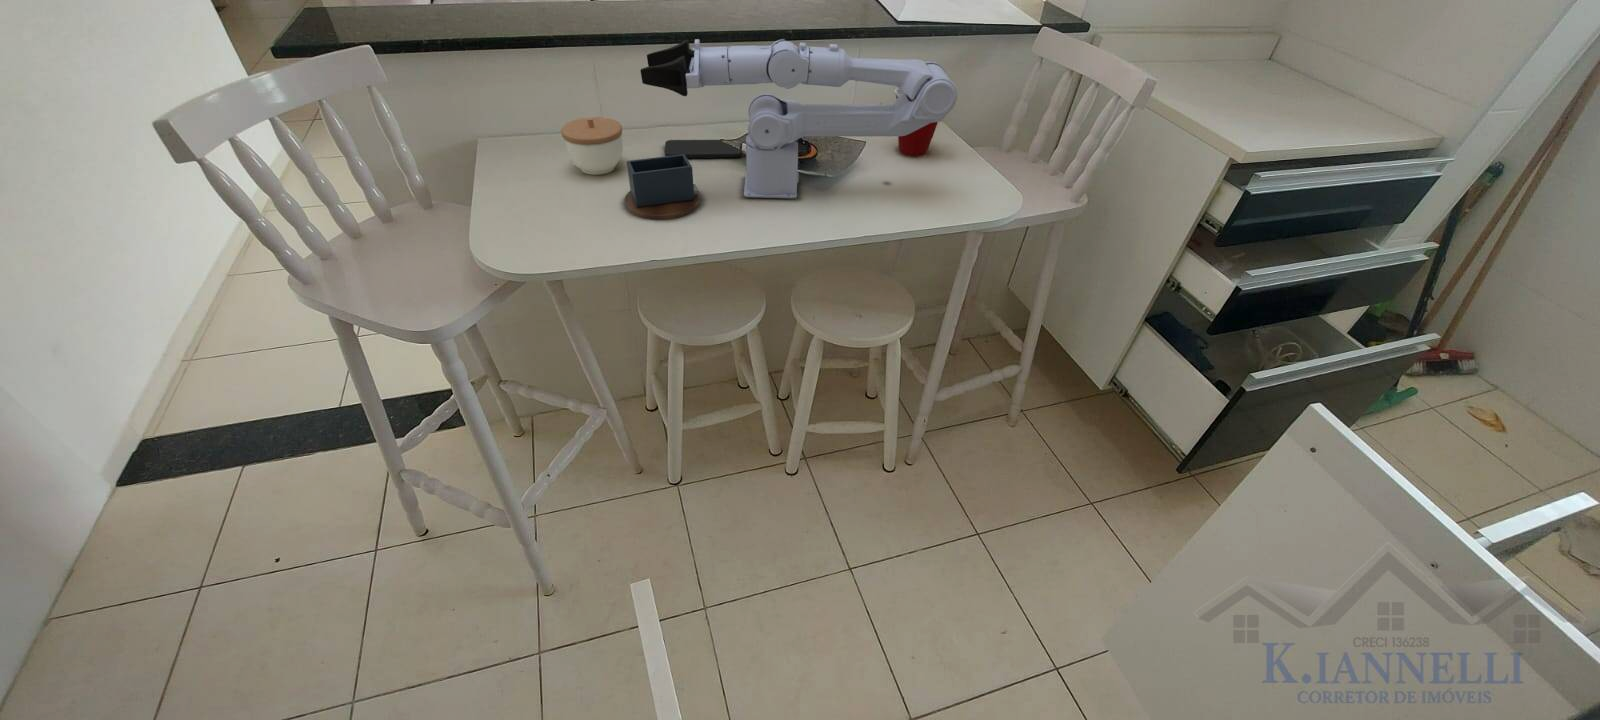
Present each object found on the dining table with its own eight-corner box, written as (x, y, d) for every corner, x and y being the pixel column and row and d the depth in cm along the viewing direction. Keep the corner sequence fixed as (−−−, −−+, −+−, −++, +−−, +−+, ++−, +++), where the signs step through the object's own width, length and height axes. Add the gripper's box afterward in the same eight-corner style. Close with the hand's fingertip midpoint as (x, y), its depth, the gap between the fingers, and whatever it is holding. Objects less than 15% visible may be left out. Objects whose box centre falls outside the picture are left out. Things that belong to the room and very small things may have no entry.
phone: (741, 154, 131) (664, 154, 129) (741, 158, 131) (664, 158, 129) (739, 139, 136) (665, 139, 134) (739, 143, 137) (665, 143, 135)
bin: (693, 185, 119) (691, 153, 115) (701, 198, 116) (699, 165, 112) (631, 193, 116) (626, 160, 112) (636, 207, 112) (632, 174, 108)
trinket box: (613, 183, 121) (605, 133, 115) (558, 176, 122) (547, 126, 116) (636, 159, 129) (629, 111, 123) (584, 153, 130) (575, 105, 124)
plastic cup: (947, 149, 139) (958, 90, 131) (926, 166, 131) (936, 105, 124) (901, 136, 143) (908, 79, 135) (877, 153, 136) (884, 93, 128)
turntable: (703, 186, 121) (703, 182, 121) (696, 220, 112) (696, 216, 111) (632, 184, 121) (631, 180, 120) (618, 218, 111) (618, 214, 111)
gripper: (728, 27, 110) (646, 29, 110) (725, 52, 99) (633, 55, 99) (732, 71, 115) (653, 73, 114) (729, 100, 104) (642, 103, 103)
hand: (644, 68), depth 107 cm, fingers open, 7 cm apart
